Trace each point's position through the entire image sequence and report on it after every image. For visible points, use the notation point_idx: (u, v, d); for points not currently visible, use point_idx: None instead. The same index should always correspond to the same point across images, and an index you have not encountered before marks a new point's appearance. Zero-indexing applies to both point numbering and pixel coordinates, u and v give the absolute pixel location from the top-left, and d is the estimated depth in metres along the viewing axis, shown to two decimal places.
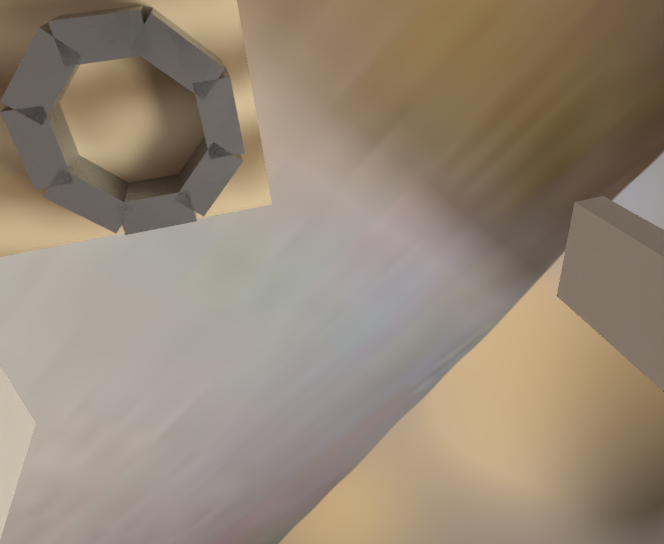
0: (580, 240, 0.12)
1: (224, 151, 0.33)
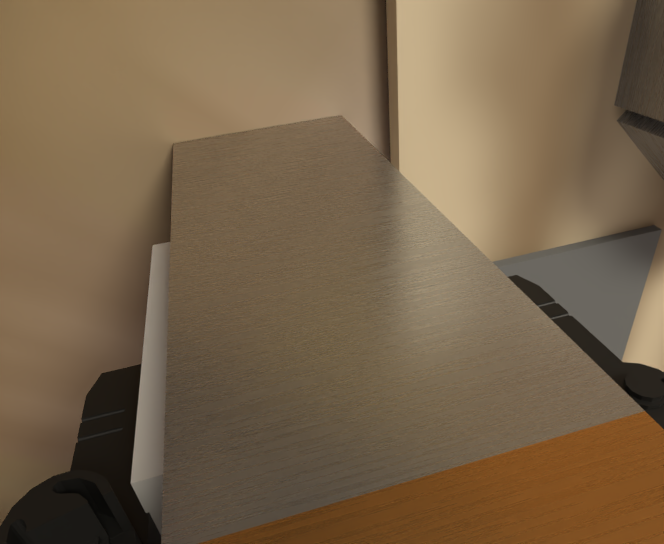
0: None
1: None
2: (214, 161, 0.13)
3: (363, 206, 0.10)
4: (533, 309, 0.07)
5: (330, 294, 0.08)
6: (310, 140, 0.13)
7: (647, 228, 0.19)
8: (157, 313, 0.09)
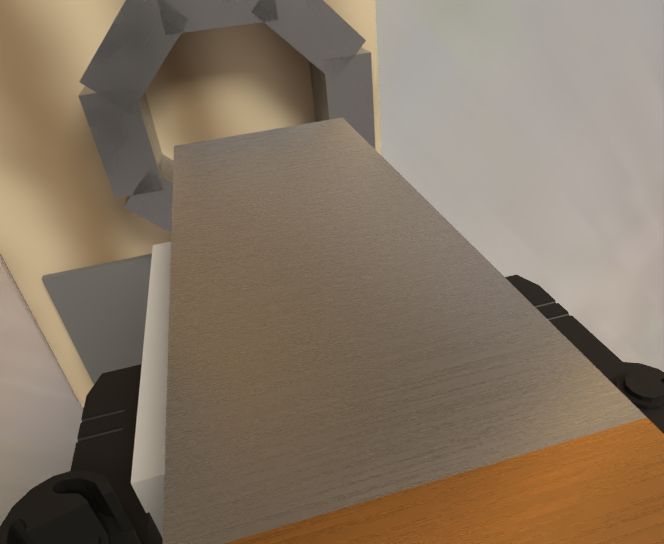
0: None
1: None
2: (215, 163, 0.13)
3: (364, 209, 0.10)
4: (535, 314, 0.07)
5: (331, 298, 0.08)
6: (311, 142, 0.13)
7: None
8: (157, 313, 0.09)
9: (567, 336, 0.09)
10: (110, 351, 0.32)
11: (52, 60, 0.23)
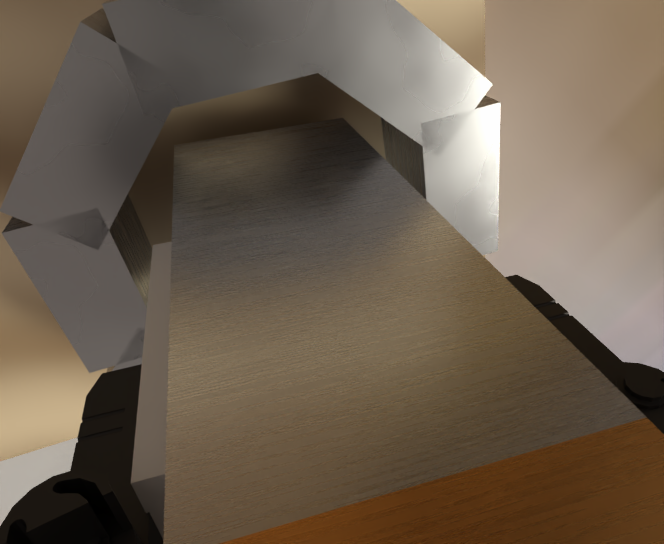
0: None
1: None
2: (215, 163, 0.13)
3: (364, 209, 0.10)
4: (535, 314, 0.07)
5: (331, 298, 0.08)
6: (311, 142, 0.13)
7: None
8: (157, 313, 0.09)
9: (567, 336, 0.09)
10: None
11: None
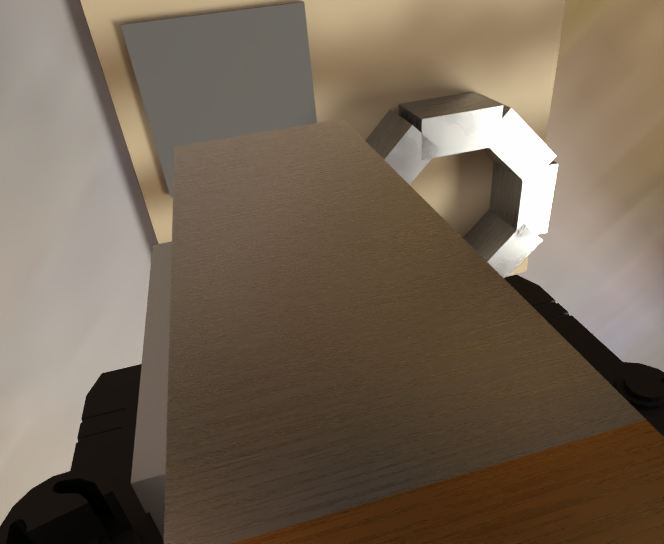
0: None
1: (530, 232, 0.33)
2: (215, 165, 0.13)
3: (364, 210, 0.10)
4: (534, 316, 0.07)
5: (331, 300, 0.08)
6: (311, 143, 0.13)
7: None
8: (157, 313, 0.09)
9: (567, 336, 0.09)
10: (191, 57, 0.25)
11: (489, 65, 0.30)
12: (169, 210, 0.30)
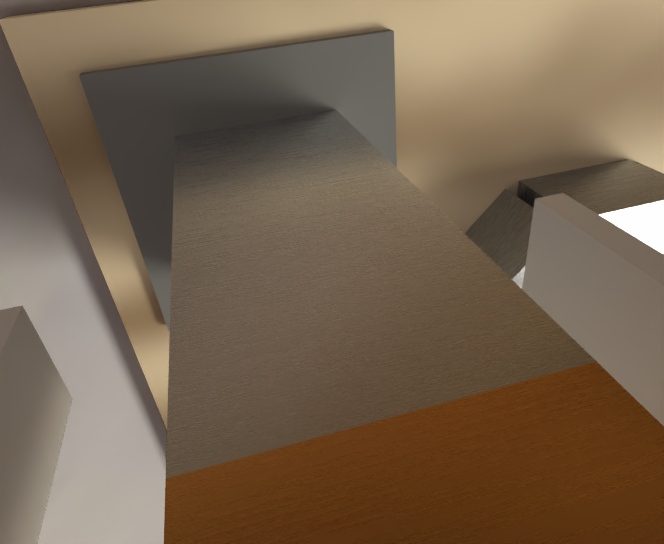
0: (540, 236, 0.12)
1: None
2: (214, 152, 0.13)
3: (353, 191, 0.11)
4: (504, 278, 0.07)
5: (319, 267, 0.08)
6: (305, 132, 0.14)
7: None
8: None
9: None
10: (203, 124, 0.15)
11: (657, 121, 0.20)
12: (167, 345, 0.19)
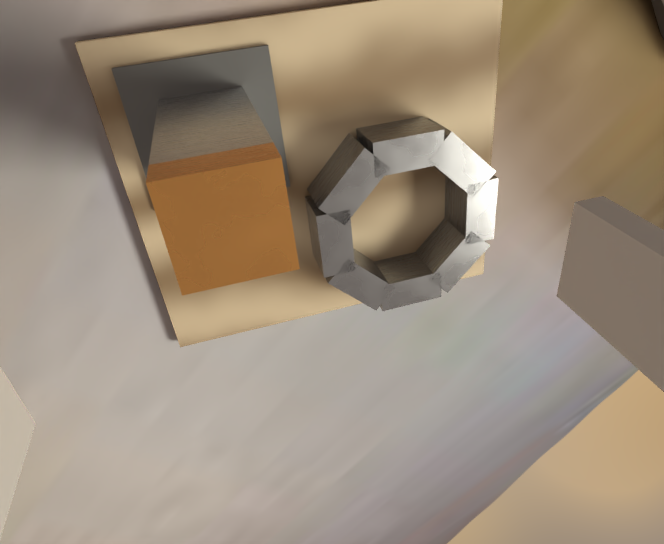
0: (580, 240, 0.12)
1: (478, 238, 0.37)
2: (176, 104, 0.28)
3: (230, 113, 0.25)
4: (264, 130, 0.22)
5: (205, 132, 0.23)
6: (221, 95, 0.29)
7: (288, 179, 0.35)
8: None
9: None
10: (172, 93, 0.30)
11: (435, 93, 0.34)
12: (156, 224, 0.34)
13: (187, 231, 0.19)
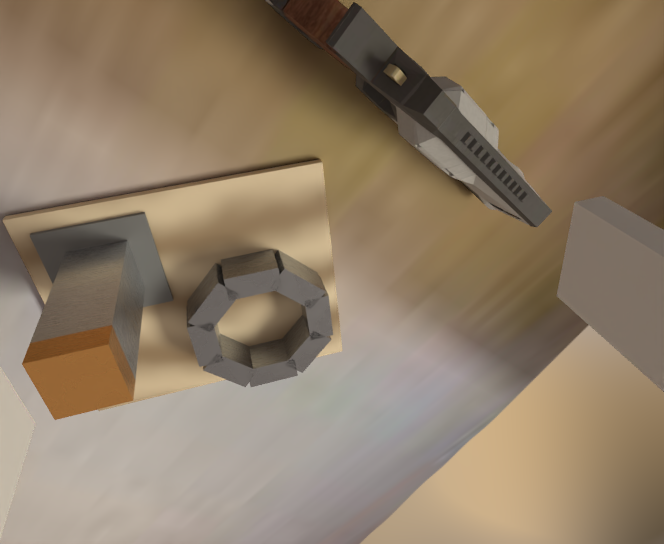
0: (580, 240, 0.12)
1: (320, 335, 0.49)
2: (74, 261, 0.40)
3: (103, 281, 0.37)
4: (113, 308, 0.34)
5: (78, 305, 0.35)
6: (108, 253, 0.41)
7: (171, 295, 0.47)
8: None
9: None
10: (75, 247, 0.42)
11: (280, 233, 0.46)
12: None
13: (53, 386, 0.31)
